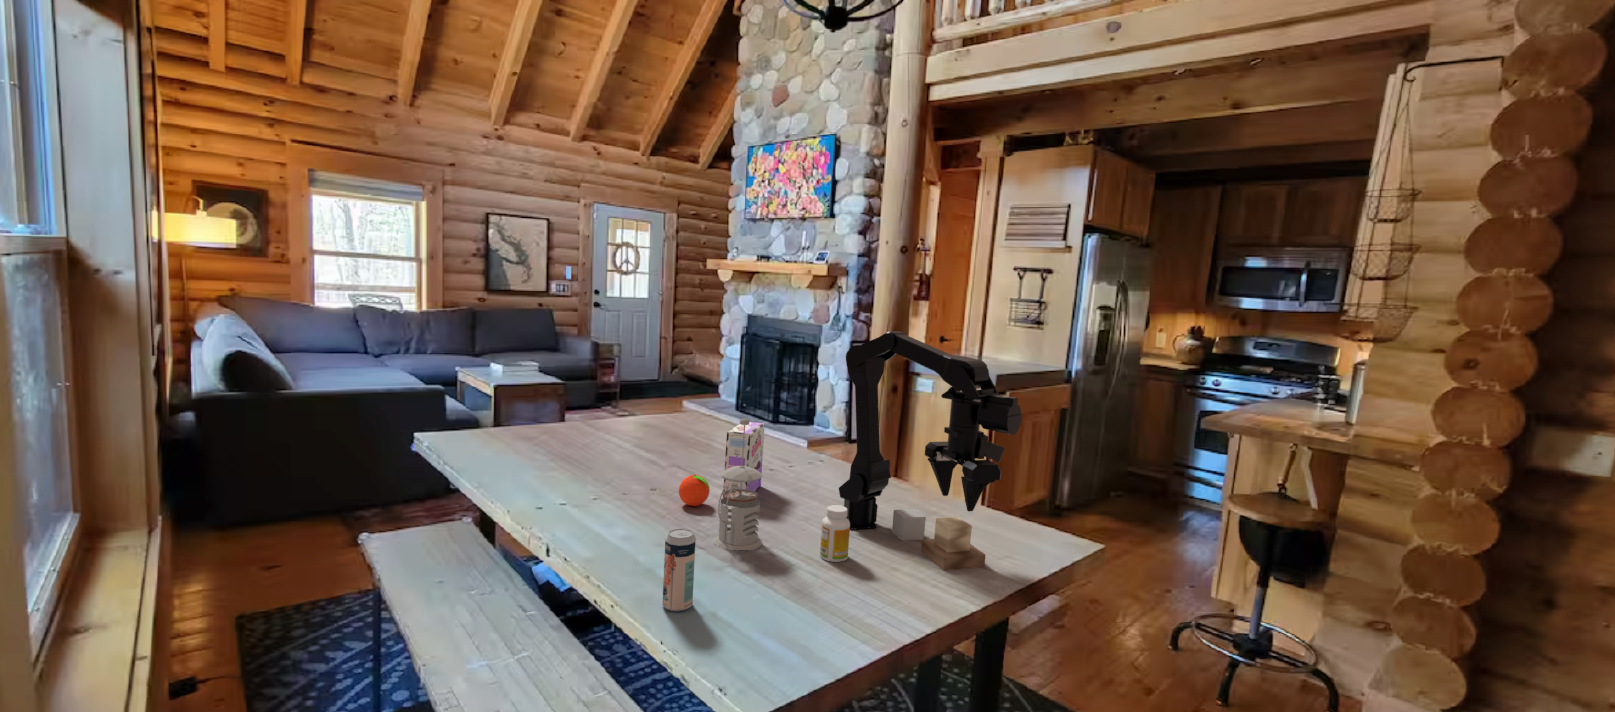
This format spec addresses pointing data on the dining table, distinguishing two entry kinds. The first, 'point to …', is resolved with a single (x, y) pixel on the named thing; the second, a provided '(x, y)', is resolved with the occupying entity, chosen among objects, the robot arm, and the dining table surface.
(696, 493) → the clementine
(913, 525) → the grey cube
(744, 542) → the french press
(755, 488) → the candy box
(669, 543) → the beer can
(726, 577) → the dining table surface
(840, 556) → the supplement bottle
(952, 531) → the maple cube
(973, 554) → the walnut block
